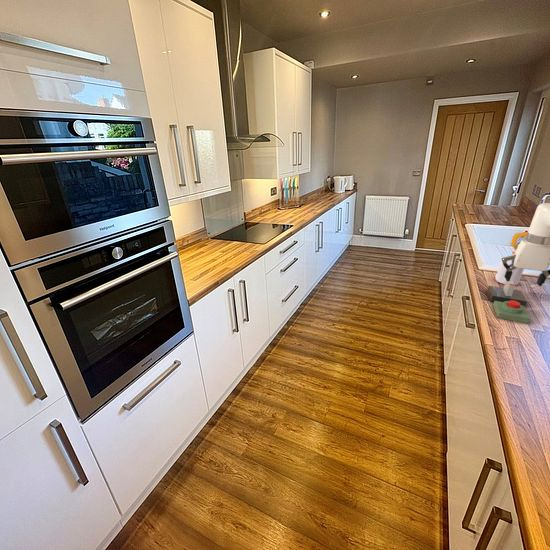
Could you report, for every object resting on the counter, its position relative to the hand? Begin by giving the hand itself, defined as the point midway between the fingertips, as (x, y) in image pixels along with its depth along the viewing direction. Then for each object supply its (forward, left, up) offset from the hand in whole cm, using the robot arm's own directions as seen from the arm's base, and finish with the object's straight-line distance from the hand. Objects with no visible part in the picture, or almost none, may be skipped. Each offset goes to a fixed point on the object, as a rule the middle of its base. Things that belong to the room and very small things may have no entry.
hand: (522, 282), depth 110 cm
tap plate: (0, -12, -14) cm, 19 cm away
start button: (0, +1, -10) cm, 11 cm away
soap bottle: (-4, -32, -14) cm, 36 cm away
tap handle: (0, -12, -11) cm, 17 cm away
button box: (0, +1, -14) cm, 14 cm away
